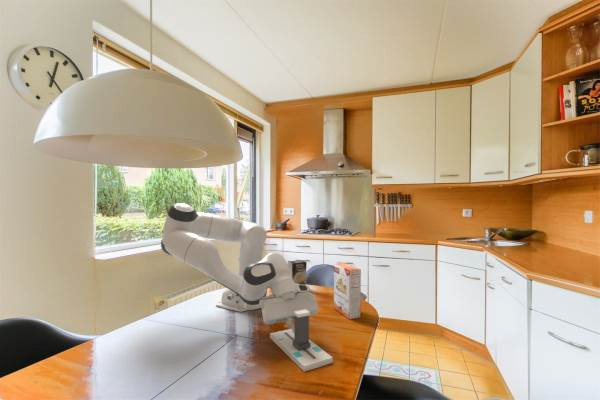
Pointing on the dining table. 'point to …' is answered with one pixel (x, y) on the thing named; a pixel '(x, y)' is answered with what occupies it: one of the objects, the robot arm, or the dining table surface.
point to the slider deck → (301, 351)
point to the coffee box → (298, 271)
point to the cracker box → (347, 290)
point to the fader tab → (301, 330)
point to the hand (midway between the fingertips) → (298, 331)
